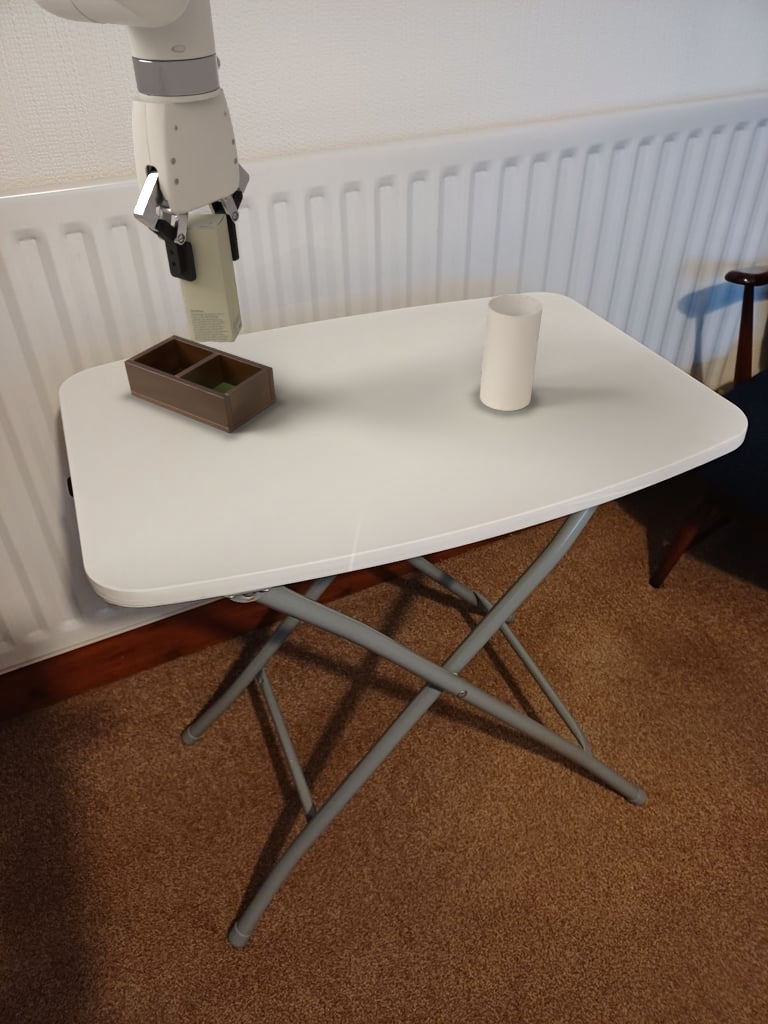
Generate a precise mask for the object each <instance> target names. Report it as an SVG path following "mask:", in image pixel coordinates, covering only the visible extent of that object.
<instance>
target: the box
mask: <svg viewBox="0 0 768 1024" xmlns="http://www.w3.org/2000/svg"><path fill="white" fill-rule="evenodd" d="M171 225H172V226H173V227H174V225H175V220H174V221H173V222H171ZM186 241H188V242H191V244H192V250H193V256H194V262H195V269H196V275H197V278H196V280H194V281H192V282H190V281H186V280H183V279H179V284H180V289H181V293H182V299H183V304H184V305H183V306H184V310H185V315H186V320H187V326H188V330H189V335H190V340H191V341H194V342H203V343H207V342H209V343H234V342H235V341H236V340H237V338H238V336H239V334H240V332H241V330H242V328H243V321H242V314H241V307H240V301H239V295H238V288H237V281H236V274H235V267H234V261H233V259H232V252H231V245H230V239H229V232H228V226H227V219H226V215H225V214H212V213H188V223H187V233H186Z"/></svg>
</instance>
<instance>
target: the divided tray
mask: <svg viewBox="0 0 768 1024" xmlns="http://www.w3.org/2000/svg"><path fill="white" fill-rule="evenodd" d="M123 363H124V368H125V371H126V376H127V381H128V384H129V389H130V393H131V395H132V396H134V397H137V398H139V399H141V400H144V401H147V402H148V403H150V404H153V405H157V406H159V407H161V408H165V409H167V410H170V411H171V412H175V413H178V414H179V415H182V416H185V417H187V418H190V419H192V420H195V421H197V422H199V423H202V424H205V425H207V426H210V427H213V428H215V429H218V430H221V431H223V432H226V433H228V434H231V433H232V432H234V431H235V430H236V429H238V428H239V427H241V426H243V425H244V424H245V423H247V422H248V421H250V420H251V419H252V418H254V417H255V416H257V415H258V414H260V413H262V412H263V411H264V410H266V409H267V408H269V407H270V406H271V405H273V404H274V403H276V402H277V401H276V400H277V399H276V388H275V378H274V371H273V370H274V369H273V367H272V366H269V365H265V364H262V363H260V362H256V361H254V360H250V359H248V358H244V357H241V356H238V355H236V354H233V353H229V352H227V351H223V350H221V349H217V348H215V347H212V346H209V345H207V344H203V343H200V342H198V341H192V340H191V339H187V338H185V337H182V336H179V335H176V334H173V335H171V336H169V337H168V338H165V339H163V340H161V341H159V342H158V343H156V344H154V345H152V346H151V347H148V348H146V349H145V350H142V351H140V352H139V353H137V354H135V355H133V356H132V357H129V358H128V359H126V360H124V361H123Z"/></svg>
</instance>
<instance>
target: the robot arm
mask: <svg viewBox="0 0 768 1024" xmlns="http://www.w3.org/2000/svg"><path fill="white" fill-rule="evenodd" d="M33 1H34V2H35V3H36V5H38V6H39V7H41V8H42V9H43V10H45V11H47V12H48V13H50V14H51V15H54V16H56V17H58V18H61V19H65V20H69V21H72V22H73V21H74V22H79V23H80V22H81V23H90V24H91V23H92V24H100V25H101V24H102V25H107V24H109V25H118V26H125V27H126V31H127V37H128V42H129V48H130V54H131V61H132V66H133V72H134V77H135V84H136V89H137V95H138V96H137V97H134V98H132V100H131V101H132V103H131V104H132V105H131V134H132V136H131V137H132V149H133V156H134V157H133V158H134V165H135V173H136V179H137V186H138V192H139V197H138V200H137V203H136V204H135V207H134V210H133V217H134V219H136V220H137V221H138V222H140V223H141V224H143V225H144V226H145V227H147V229H149V230H150V231H151V232H152V233H154V234H155V235H156V236H157V238H158V239H159V240H160V241H161V240H162V241H164V245H165V246H164V247H165V251H166V257H167V262H168V267H169V273H170V276H171V277H173V278H177V279H179V280H180V279H183V280H186V281H190V282H192V281H194V280H196V278H197V275H196V269H195V262H194V256H193V250H192V244H191V242H188V241H186V233H187V223H188V214H190V212H193V211H195V210H198V209H200V208H203V207H205V206H206V207H207V206H208V208H209V210H210V212H211V214H225V215H226V219H227V226H228V232H229V239H230V245H231V252H232V259H233V262H236V261H238V260H240V252H239V251H240V250H239V243H238V235H237V226H236V223H237V222H238V221H239V218H240V212H239V209H240V206H241V204H242V201H243V199H244V193H245V191H246V189H247V187H248V184H249V182H250V175H249V173H248V172H247V171H246V170H245V169H244V167H243V166H242V165H241V164H240V163H239V158H238V157H239V156H238V149H237V144H236V136H235V133H234V132H235V131H234V127H233V123H232V118H231V113H230V110H229V106H228V102H227V98H226V95H225V92H224V89H223V88H221V84H220V75H219V74H220V73H219V70H220V68H221V60H220V58H219V57H218V55H217V51H216V50H217V49H216V42H215V33H214V24H213V17H212V16H213V15H212V7H211V1H210V0H33ZM157 208H159V210H158V214H157ZM172 216H174V221H175V225H174V227H173V226H172V225H171V224H172Z"/></svg>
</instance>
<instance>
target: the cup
mask: <svg viewBox="0 0 768 1024" xmlns="http://www.w3.org/2000/svg"><path fill="white" fill-rule="evenodd" d="M542 315H543V304H542V302H541V301H539V300H538V299H536V298H534V297H532V296H529V295H524V294H520V293H519V294H518V293H504V294H500V295H499V294H498V295H496V296H493V297H491V298H490V299H489V300H488V302H487V305H486V315H485V316H486V317H485V318H486V319H485V328H484V338H483V339H484V341H483V353H482V362H481V364H482V365H481V376H480V386H479V387H480V388H479V400H480V401H481V403H482V404H483V405H485V406H487V407H488V408H491V409H494V410H496V411H497V410H498V411H502V412H503V411H504V412H513V411H518V410H522V409H524V408H526V407H527V406H528V405H529V404H530V403H531V399H532V392H533V384H534V377H535V376H534V375H535V368H536V361H537V354H538V348H539V347H538V345H539V339H540V331H541V323H542Z"/></svg>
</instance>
